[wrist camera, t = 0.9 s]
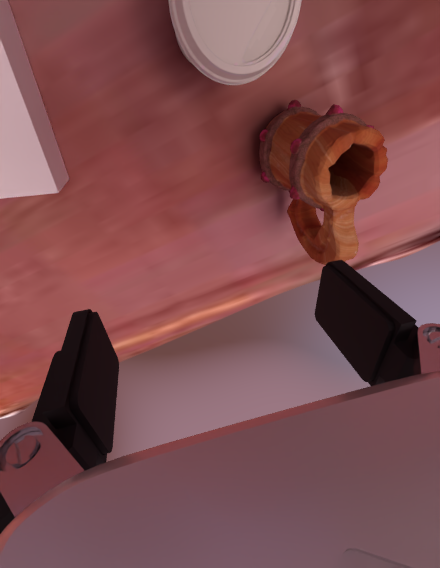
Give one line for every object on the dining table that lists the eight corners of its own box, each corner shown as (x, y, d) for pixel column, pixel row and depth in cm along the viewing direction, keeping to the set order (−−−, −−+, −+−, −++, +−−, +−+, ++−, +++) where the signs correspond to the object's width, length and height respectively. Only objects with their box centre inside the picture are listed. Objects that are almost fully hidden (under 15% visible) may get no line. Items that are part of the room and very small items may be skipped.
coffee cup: (186, 102, 28) (209, 109, 19) (140, -8, 23) (139, -75, 14) (261, 61, 28) (322, 46, 18) (230, -61, 23) (293, -169, 13)
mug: (247, 105, 30) (318, 115, 18) (317, 93, 31) (428, 96, 19) (254, 227, 39) (304, 289, 27) (308, 215, 40) (380, 270, 28)
